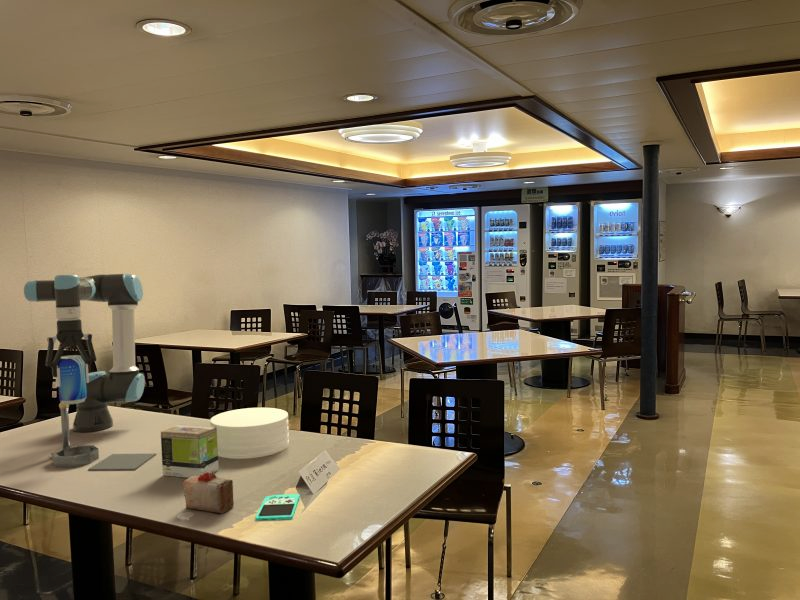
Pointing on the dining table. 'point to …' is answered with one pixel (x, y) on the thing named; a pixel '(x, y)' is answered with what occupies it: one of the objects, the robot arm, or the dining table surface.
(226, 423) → the plate stack
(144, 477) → the dining table surface
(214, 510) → the food item
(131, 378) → the robot arm
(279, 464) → the dining table surface
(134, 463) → the rubber mat
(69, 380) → the beer can
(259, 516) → the handheld game console
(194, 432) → the tea box
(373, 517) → the dining table surface
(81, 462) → the ring stand
